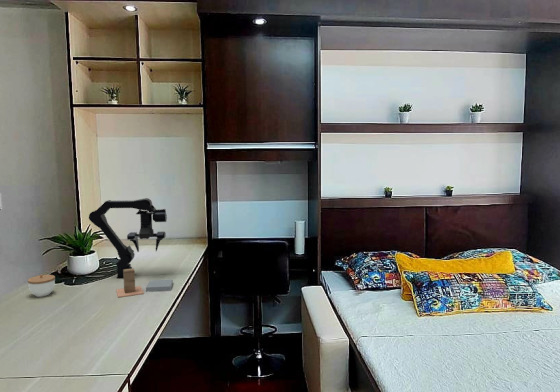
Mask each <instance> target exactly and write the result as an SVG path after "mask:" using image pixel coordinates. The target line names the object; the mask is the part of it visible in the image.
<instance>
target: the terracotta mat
mask: <svg viewBox="0 0 560 392" xmlns="http://www.w3.org/2000/svg"><path fill="white" fill-rule="evenodd" d="M144 293H145V292H144V290H143V289H142V286H141V285H138V286H135V292H131V293H125V292H124V287H123V288H116V295H117V298H124V297H125V298H126V297H132V296H138V295H144Z"/></svg>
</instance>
